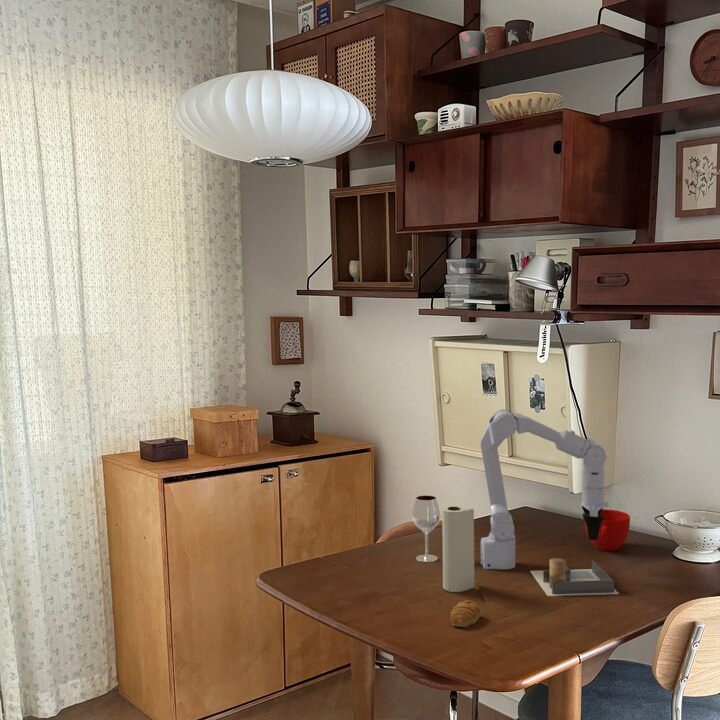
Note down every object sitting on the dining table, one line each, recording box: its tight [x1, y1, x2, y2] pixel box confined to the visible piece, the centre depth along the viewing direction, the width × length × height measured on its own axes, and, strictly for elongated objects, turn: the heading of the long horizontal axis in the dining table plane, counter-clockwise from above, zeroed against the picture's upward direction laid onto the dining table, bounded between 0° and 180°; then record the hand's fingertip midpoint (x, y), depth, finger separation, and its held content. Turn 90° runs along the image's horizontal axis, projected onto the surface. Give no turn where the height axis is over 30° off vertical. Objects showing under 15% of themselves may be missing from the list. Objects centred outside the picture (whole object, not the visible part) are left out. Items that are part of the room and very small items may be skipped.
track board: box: [529, 568, 620, 597], centre depth 212 cm, size 18×18×1 cm
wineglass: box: [411, 495, 441, 563], centre depth 235 cm, size 8×8×18 cm
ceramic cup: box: [584, 508, 631, 552], centre depth 241 cm, size 13×17×10 cm
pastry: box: [449, 599, 483, 628], centre depth 191 cm, size 9×7×4 cm
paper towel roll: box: [441, 505, 475, 593], centre depth 210 cm, size 7×6×21 cm
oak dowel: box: [549, 557, 567, 589], centre depth 208 cm, size 4×4×7 cm
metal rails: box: [542, 559, 615, 594], centre depth 212 cm, size 16×16×3 cm
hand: (592, 535), depth 223 cm, fingers open, 7 cm apart
